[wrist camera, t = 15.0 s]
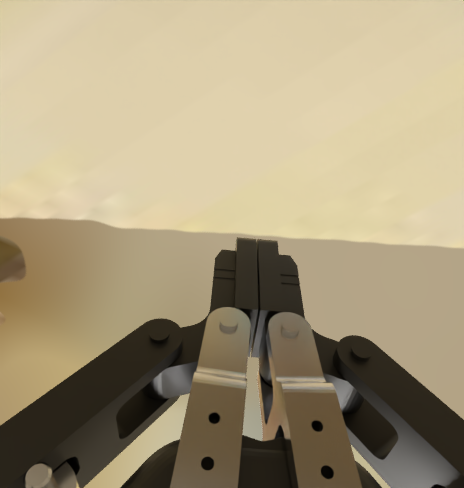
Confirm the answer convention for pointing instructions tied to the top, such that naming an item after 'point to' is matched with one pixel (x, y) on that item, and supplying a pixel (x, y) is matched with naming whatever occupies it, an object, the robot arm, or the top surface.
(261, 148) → the top surface
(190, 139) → the top surface
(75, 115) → the top surface
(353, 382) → the robot arm
